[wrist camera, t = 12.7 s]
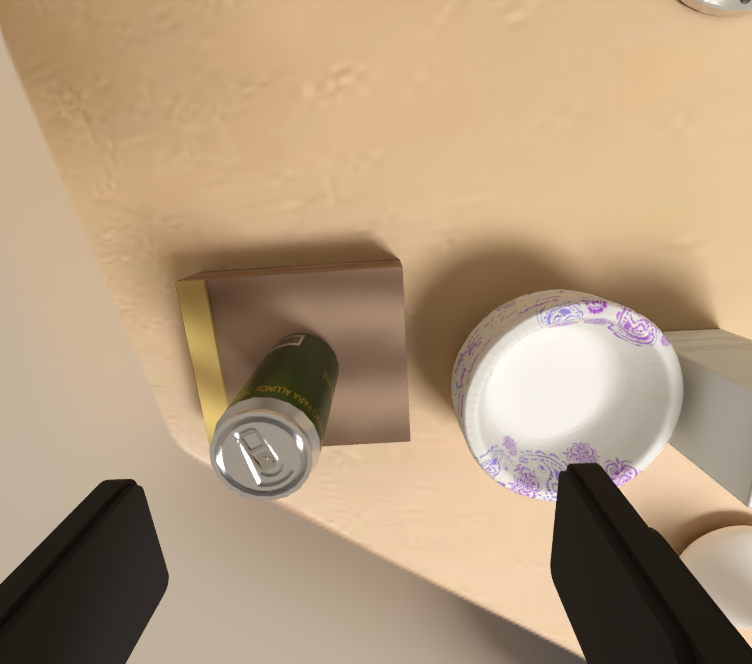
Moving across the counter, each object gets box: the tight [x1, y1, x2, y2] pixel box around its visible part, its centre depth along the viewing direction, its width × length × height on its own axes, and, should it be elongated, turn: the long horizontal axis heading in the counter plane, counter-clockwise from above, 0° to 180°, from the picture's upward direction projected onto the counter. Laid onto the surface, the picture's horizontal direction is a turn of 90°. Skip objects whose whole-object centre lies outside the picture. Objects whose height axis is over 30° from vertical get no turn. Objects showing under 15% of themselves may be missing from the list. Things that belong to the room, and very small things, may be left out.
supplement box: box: [663, 329, 752, 508], centre depth 30 cm, size 7×7×13 cm
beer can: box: [210, 333, 339, 500], centre depth 25 cm, size 5×5×12 cm
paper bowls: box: [451, 289, 684, 501], centre depth 32 cm, size 15×15×8 cm
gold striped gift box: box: [175, 259, 410, 446], centre depth 33 cm, size 14×16×4 cm
